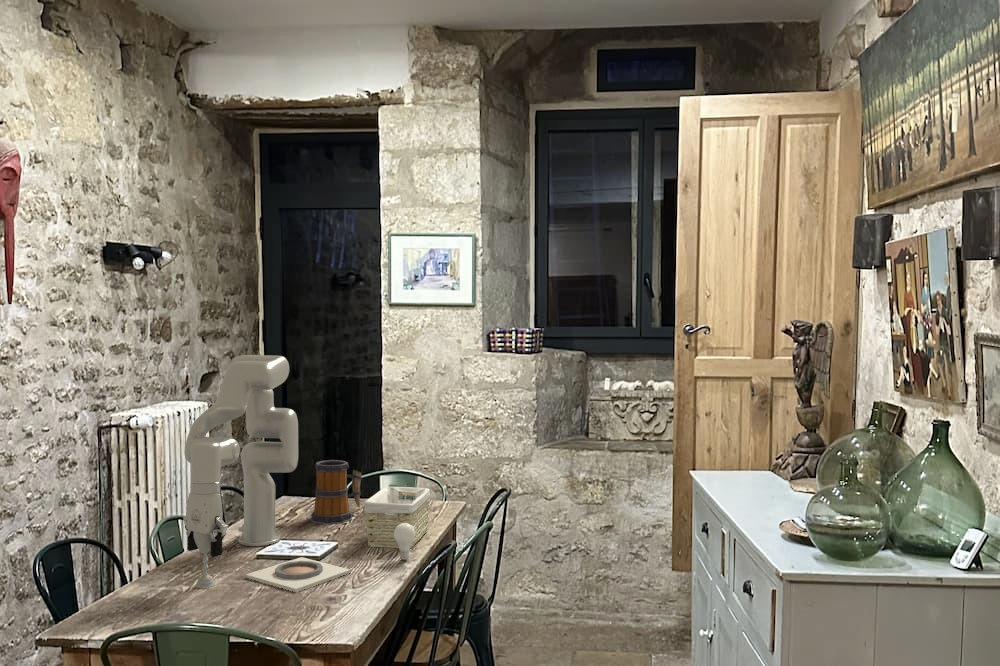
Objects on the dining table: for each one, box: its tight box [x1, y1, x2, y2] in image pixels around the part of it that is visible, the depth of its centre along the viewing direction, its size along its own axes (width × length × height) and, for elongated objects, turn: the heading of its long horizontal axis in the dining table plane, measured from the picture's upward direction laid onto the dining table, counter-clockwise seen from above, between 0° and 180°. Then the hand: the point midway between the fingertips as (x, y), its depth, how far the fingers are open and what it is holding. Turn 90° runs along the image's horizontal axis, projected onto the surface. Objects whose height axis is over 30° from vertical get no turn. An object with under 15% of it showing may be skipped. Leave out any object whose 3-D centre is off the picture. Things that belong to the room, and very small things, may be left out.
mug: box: [310, 459, 362, 525], centre depth 291 cm, size 19×14×20 cm
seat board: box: [245, 556, 352, 593], centre depth 226 cm, size 20×20×2 cm
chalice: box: [192, 520, 217, 589], centre depth 218 cm, size 7×7×18 cm
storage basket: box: [364, 485, 431, 549], centre depth 264 cm, size 24×16×15 cm
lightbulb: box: [394, 523, 415, 562], centre depth 242 cm, size 6×6×11 cm
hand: (204, 552), depth 217 cm, fingers open, 9 cm apart
